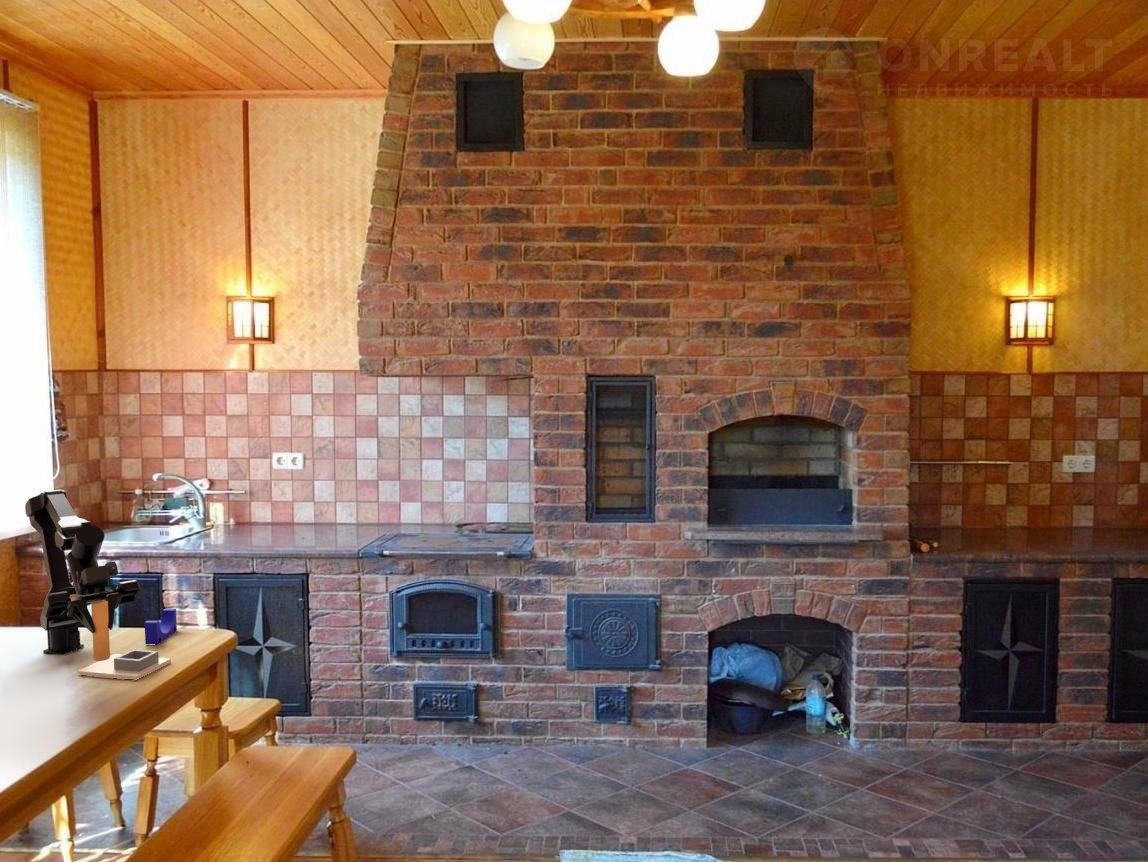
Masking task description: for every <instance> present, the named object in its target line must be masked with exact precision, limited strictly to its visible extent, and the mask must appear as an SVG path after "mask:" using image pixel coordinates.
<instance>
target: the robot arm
mask: <svg viewBox="0 0 1148 862" xmlns="http://www.w3.org/2000/svg"><path fill="white" fill-rule="evenodd" d="M24 505H25V506H24V509H25V515H26V517H27V518H29V523H30V525H31V527H32V528H33V529H34V530H35V531H37V532H38V533H39V536H40V543H41V548H42V553H43V560H44V565H45V571H46V577H47V582H48V586H49V590H48V592H47V593H46V597H45V599H44V602H43V603H44V605H43V607H42V611H41V613H40V618H39V619H40V626H41V628H42V629H43V630H44V631H45V632H46V633H47V636H46V637H47V648H46V649H44V650H42V652H43V653H44V654H54V655H68V654H70V653H72V652H71V651H73V652H75V651H77V650H79V649H81V647H82V648H84V647H85V644H82V643H81V631H80V629H79V625H82V626H84V627H85V628H86V629H87V630H88V631H89V632H90V633H91V634H93V633H95V627H94V624H93V621H92V615H91V614H90V611H89V609H88V604H89V603H90V604H91V603H93V602H97V601H107V602H108V620H109V631H112V630H113V627H114V619H115V618H114V617H115V610H116V609H117V608H119V606H120V605H126V604H131V603H132V604H133V603H135V602H136V601H137V600H138V597H139V595H140V592H141V590H142V587H141V585H140V582H138V580H135V579H133V580H128V581H121V582H118V586H117V588H115V589H106V588H108V587H109V581H111V578H114V577H115V578H116V577H117V576H118V574H119V569H118V565H117V563H116V561H108V562H106V563H105V564H103V565H99V564H98V560H97V557H98V556H99V555H100V552H101V550H102V547H103V543H104V539H105V537H106V535H105V532H104V531H103V530H102V528H101V527H99V526H97V525H93V524H92V522H91V521H88V520H86V519H84V518H81V517H78V515H77V514H76V512H75V511H74V509H73V507H72V505H71V504H70V502H69V500H68V498H67V492H66V490H64V489H63V490H62V489H53V490H44V491H42V492H40V493H39V494H37V495H35V496H33V497H30V498H28V500H27V501H26V502H25V504H24ZM65 551H69V552H68V553H67V555H66V554H65ZM68 568H69V570H68ZM69 572H70V575H69ZM69 576H71V580H72V583H71V582H70V581H71V580H70V577H69ZM76 649H77V650H76ZM74 650H75V651H74Z"/></svg>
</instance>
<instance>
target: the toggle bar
mask: <svg viewBox="0 0 1148 862" xmlns="http://www.w3.org/2000/svg"><path fill="white" fill-rule="evenodd" d="M90 605H91V606H90V607H91V619H92V621H93V624H94V627H95V633H92V649H93V650H92V651H93V652H92V653H93V660H94V661H96V662H98V661H104V660H107V659H109V658H110V656H111V649H110V648H111V646H110V629H109V620H108V602H107V601H104V600H102V601H96V602H90Z"/></svg>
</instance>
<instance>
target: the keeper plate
mask: <svg viewBox="0 0 1148 862" xmlns="http://www.w3.org/2000/svg"><path fill="white" fill-rule="evenodd" d="M171 663H172V661H171V658H167V657H159V651H158V650H157V651H156V650H155V651H154V650H146V649H145V650H144V649H135V648H134V649H131V650H130V651H127V652H125V653H123V654H121V653H114V654H112V655H111V654H110V658H109V659H107V660H104V661H96V662H94V663H92V664H90V665H87V666H86V667H83V668H81V669H80V670H78V672H77V675H78V674H80V675H79V676H81V675H87V676H86V677H92V676H94V678H104V679H113V678H117V679H116V680H124V679H134V680H133V681H135V680H137V679H139V678H141V677H143V676H144V677H146V676H148V675H149V674H148V673H150V672H152V671H154V670H156V669H158V670H160V669H162V668H163V666H164V667H166V666H167V665H169V664H171ZM161 667H162V668H161ZM159 668H160V669H159ZM156 671H157V670H156ZM154 672H155V671H154ZM152 673H153V672H152ZM147 674H148V675H147ZM150 674H151V673H150ZM145 675H146V676H145ZM144 677H143V678H144ZM141 679H142V678H141ZM139 680H140V679H139ZM137 681H138V680H137Z"/></svg>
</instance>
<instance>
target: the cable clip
mask: <svg viewBox="0 0 1148 862" xmlns="http://www.w3.org/2000/svg"><path fill="white" fill-rule="evenodd" d="M161 611H162V612H161V619H158V620H146V621H144V639H145V640H144V641H145V642H144V643H145V644H155V645H154V646H159V645H160V644H161V643H162V641H163V642H164V641H165V640H166V639H168V638H169V637H170V636H172V635H174V634H175V633H176V632H177V630H178V625H177V624H178V623H177V608H164V609H162V610H161ZM159 643H160V644H159ZM158 644H159V645H158Z"/></svg>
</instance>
